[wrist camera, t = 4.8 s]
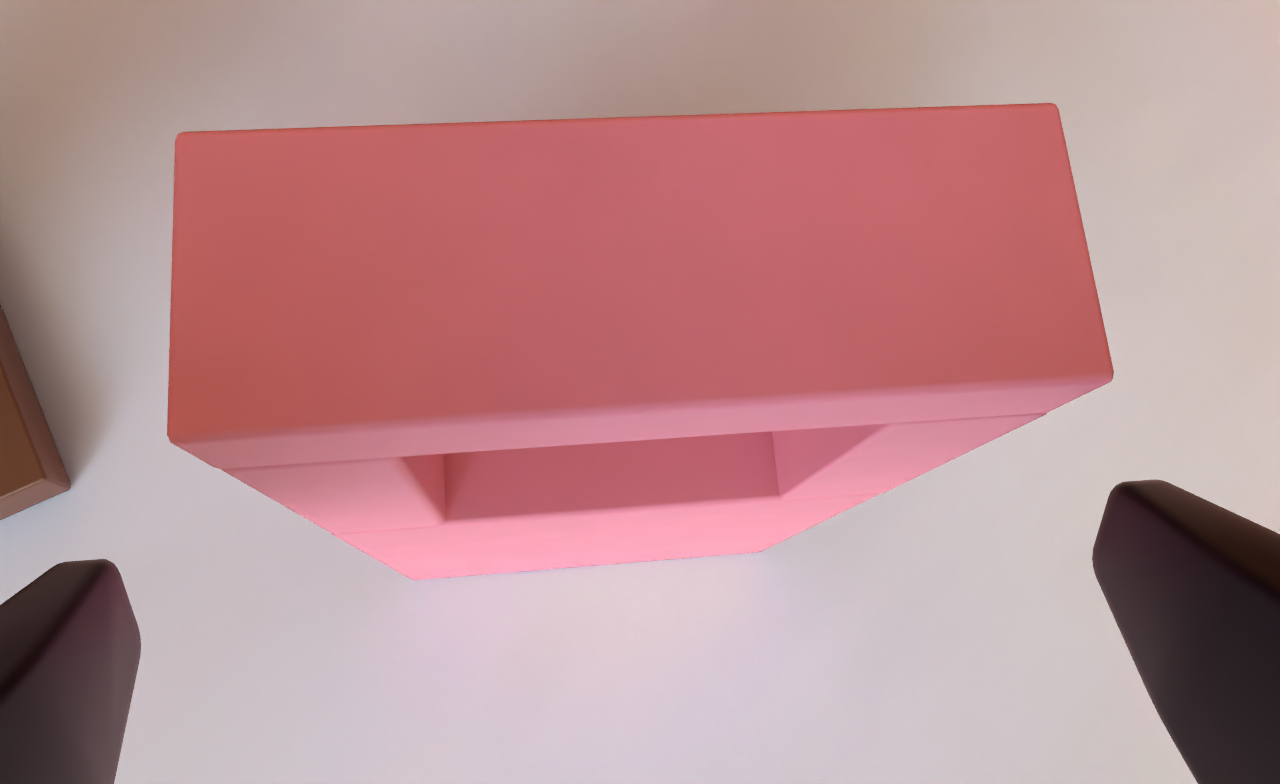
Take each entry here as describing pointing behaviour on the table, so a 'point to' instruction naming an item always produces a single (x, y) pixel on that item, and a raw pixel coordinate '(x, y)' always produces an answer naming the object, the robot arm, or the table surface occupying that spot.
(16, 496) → the stand
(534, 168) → the pink tunnel block
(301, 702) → the table surface
